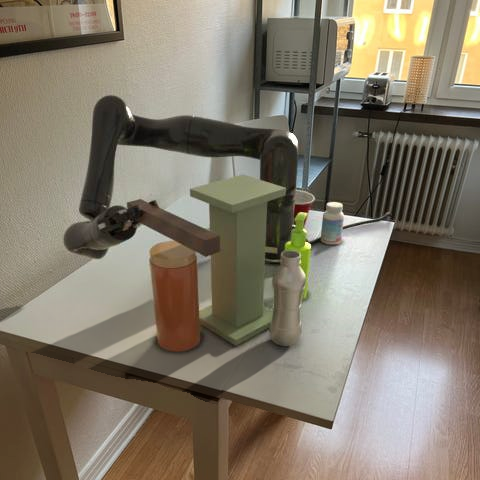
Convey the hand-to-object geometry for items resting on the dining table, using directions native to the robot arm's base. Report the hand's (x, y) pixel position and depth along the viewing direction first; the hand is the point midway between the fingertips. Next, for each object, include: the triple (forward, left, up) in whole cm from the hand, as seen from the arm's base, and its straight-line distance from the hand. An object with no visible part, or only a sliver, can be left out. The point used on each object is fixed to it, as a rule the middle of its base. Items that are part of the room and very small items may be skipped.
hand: (148, 207), depth 93 cm
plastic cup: (-49, -39, -27) cm, 68 cm away
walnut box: (-3, +6, -3) cm, 8 cm away
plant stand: (-17, +3, -27) cm, 32 cm away
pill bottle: (-57, -30, -27) cm, 70 cm away
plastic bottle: (-24, +14, -27) cm, 39 cm away
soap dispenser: (-34, -4, -27) cm, 44 cm away
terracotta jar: (-3, +6, -27) cm, 28 cm away
